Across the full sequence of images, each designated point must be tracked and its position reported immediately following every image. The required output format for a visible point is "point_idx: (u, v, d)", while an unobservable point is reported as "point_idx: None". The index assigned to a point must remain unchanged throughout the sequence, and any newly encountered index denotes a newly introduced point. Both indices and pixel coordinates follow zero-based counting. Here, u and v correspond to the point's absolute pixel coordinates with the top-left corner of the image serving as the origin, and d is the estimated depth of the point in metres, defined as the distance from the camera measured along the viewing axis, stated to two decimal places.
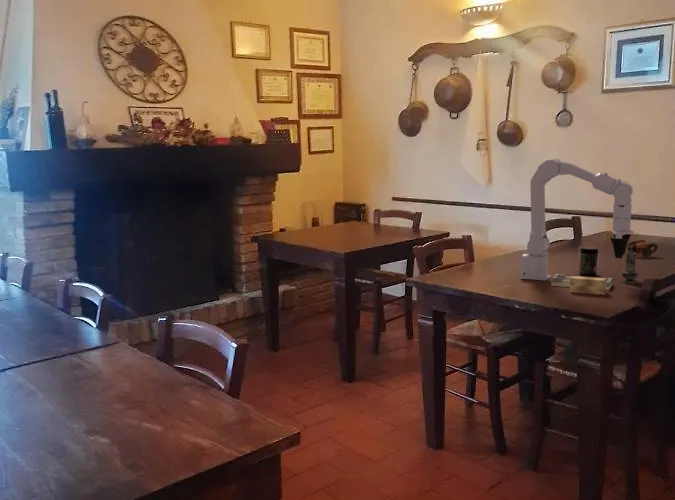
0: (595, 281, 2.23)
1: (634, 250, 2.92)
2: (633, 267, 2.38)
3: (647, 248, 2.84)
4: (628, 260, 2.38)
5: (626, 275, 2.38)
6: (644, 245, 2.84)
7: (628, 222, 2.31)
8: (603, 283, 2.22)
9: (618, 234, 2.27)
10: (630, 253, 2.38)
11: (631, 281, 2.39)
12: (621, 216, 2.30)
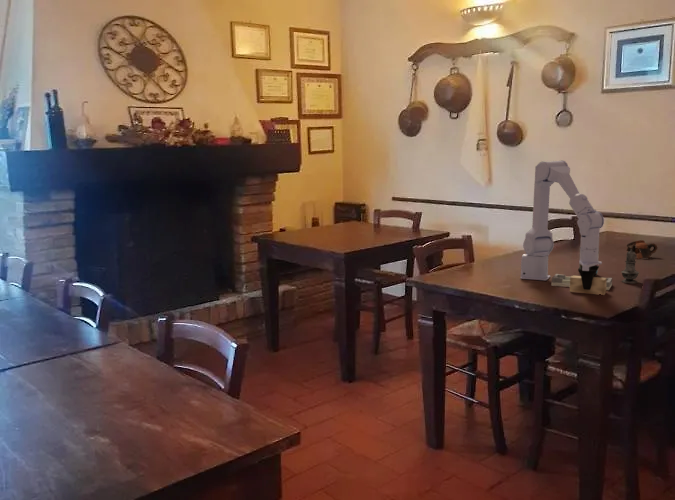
0: (595, 280, 2.23)
1: (633, 250, 2.91)
2: (633, 267, 2.38)
3: (646, 248, 2.83)
4: (628, 260, 2.38)
5: (626, 275, 2.38)
6: (643, 245, 2.83)
7: (596, 253, 2.22)
8: (603, 283, 2.22)
9: (585, 266, 2.19)
10: (630, 253, 2.38)
11: (631, 281, 2.39)
12: (583, 246, 2.23)
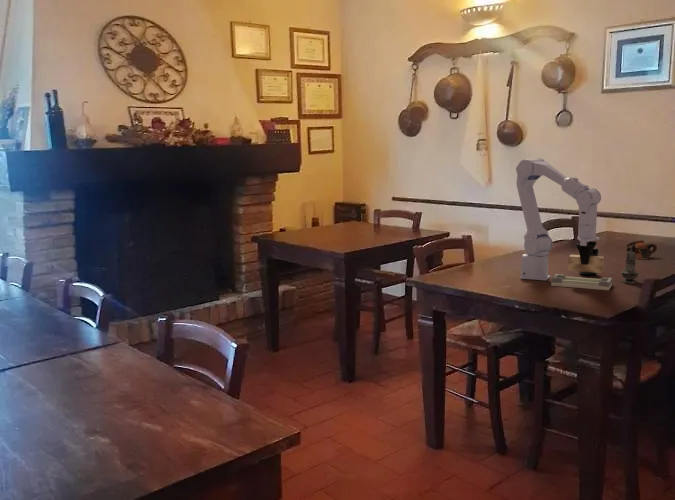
0: (593, 259, 2.30)
1: (633, 251, 2.91)
2: (633, 267, 2.38)
3: (646, 249, 2.82)
4: (628, 260, 2.38)
5: (626, 275, 2.38)
6: (643, 246, 2.83)
7: (593, 229, 2.29)
8: (600, 261, 2.29)
9: (582, 241, 2.26)
10: (630, 253, 2.38)
11: (631, 281, 2.39)
12: (583, 223, 2.29)
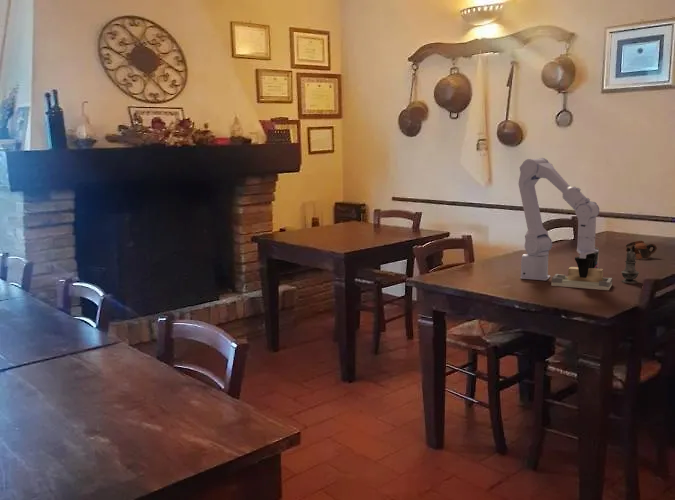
0: (592, 271, 2.33)
1: None
2: (633, 267, 2.38)
3: (646, 249, 2.82)
4: (628, 260, 2.38)
5: (626, 275, 2.38)
6: (643, 246, 2.82)
7: (592, 242, 2.31)
8: (600, 273, 2.32)
9: (582, 254, 2.28)
10: (630, 253, 2.38)
11: (631, 281, 2.39)
12: (582, 236, 2.32)
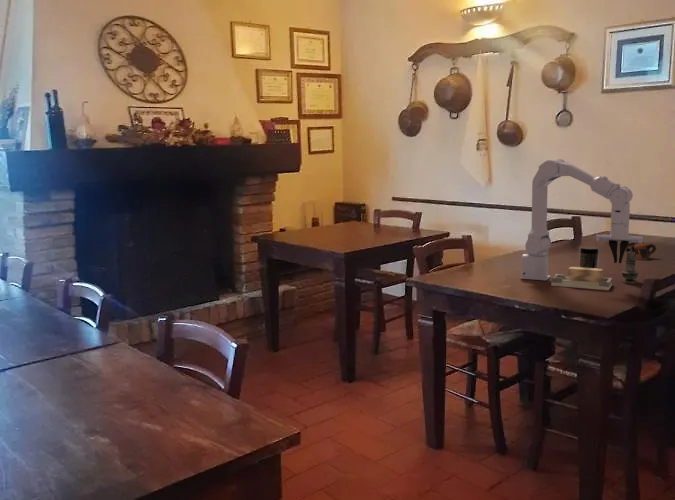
0: (592, 271, 2.33)
1: None
2: (633, 267, 2.38)
3: (646, 249, 2.81)
4: (628, 260, 2.38)
5: (626, 275, 2.38)
6: (643, 246, 2.81)
7: None
8: (600, 273, 2.32)
9: (642, 238, 2.25)
10: (630, 253, 2.38)
11: (631, 281, 2.39)
12: (617, 222, 2.25)
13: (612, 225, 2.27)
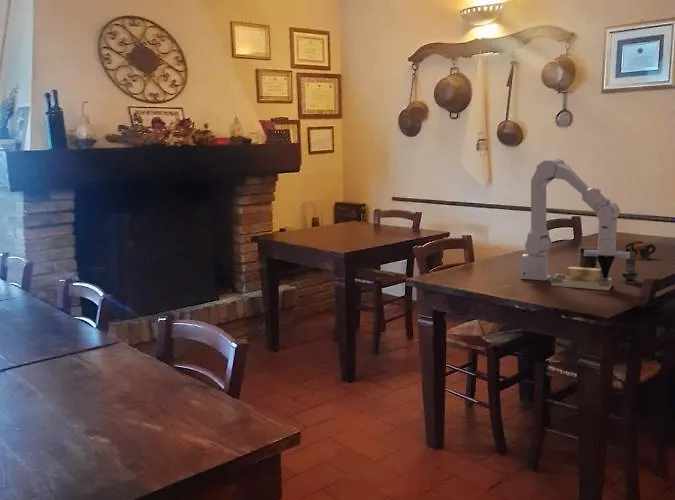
0: (591, 271, 2.33)
1: None
2: (633, 267, 2.38)
3: (645, 249, 2.81)
4: (628, 260, 2.38)
5: (626, 275, 2.38)
6: (642, 246, 2.81)
7: None
8: (599, 273, 2.32)
9: (629, 254, 2.28)
10: (630, 253, 2.38)
11: (631, 281, 2.39)
12: (604, 237, 2.28)
13: (599, 241, 2.30)
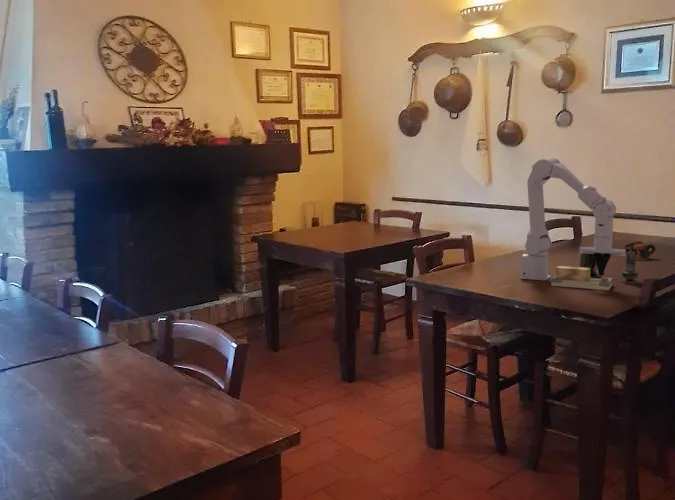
0: (579, 270, 2.35)
1: None
2: (633, 267, 2.38)
3: (645, 249, 2.80)
4: (628, 260, 2.38)
5: (626, 275, 2.38)
6: (642, 246, 2.80)
7: None
8: (587, 272, 2.34)
9: (625, 251, 2.29)
10: (630, 253, 2.38)
11: (631, 281, 2.39)
12: (600, 235, 2.29)
13: (596, 238, 2.31)
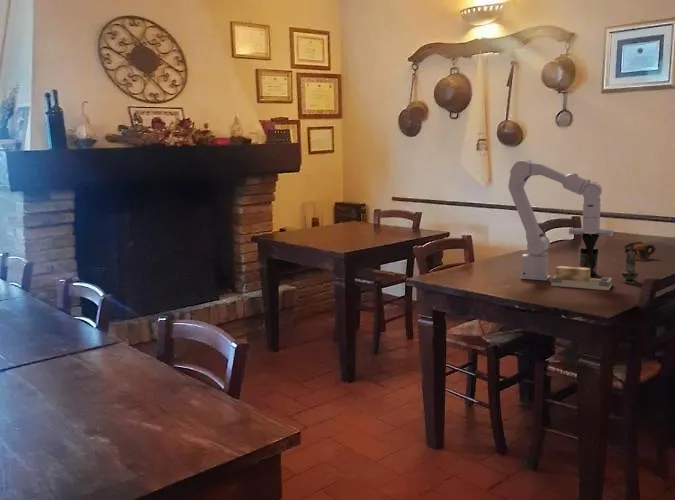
0: (579, 270, 2.35)
1: None
2: (633, 267, 2.38)
3: (645, 250, 2.80)
4: (628, 260, 2.38)
5: (626, 275, 2.38)
6: (642, 247, 2.80)
7: None
8: (587, 272, 2.34)
9: (612, 231, 2.35)
10: (630, 253, 2.38)
11: (631, 281, 2.39)
12: (590, 216, 2.35)
13: (584, 219, 2.37)
